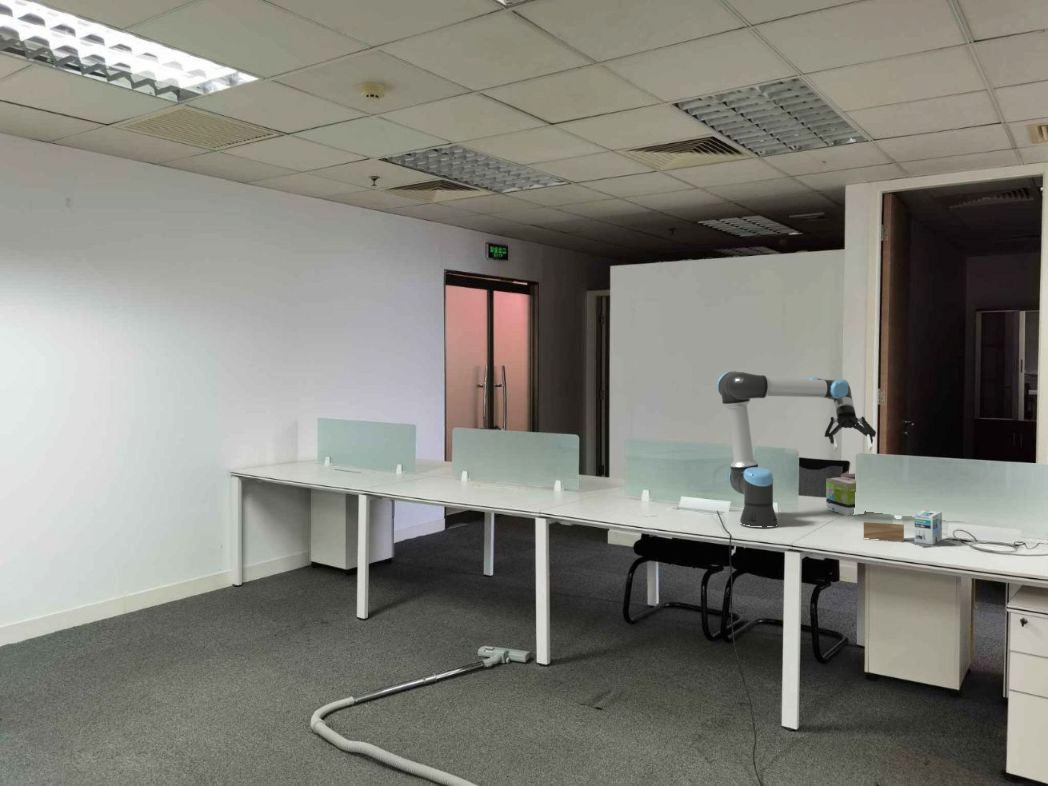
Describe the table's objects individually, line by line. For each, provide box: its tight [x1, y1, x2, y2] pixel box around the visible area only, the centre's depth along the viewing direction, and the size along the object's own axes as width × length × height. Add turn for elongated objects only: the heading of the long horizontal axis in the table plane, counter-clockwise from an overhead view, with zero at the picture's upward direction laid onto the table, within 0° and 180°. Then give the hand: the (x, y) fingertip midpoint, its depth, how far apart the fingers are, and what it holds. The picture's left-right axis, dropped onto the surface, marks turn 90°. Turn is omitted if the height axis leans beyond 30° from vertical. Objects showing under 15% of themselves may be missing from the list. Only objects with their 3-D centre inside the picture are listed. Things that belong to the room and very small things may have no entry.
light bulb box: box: [914, 509, 943, 545], centre depth 301 cm, size 11×7×11 cm, turn 135°
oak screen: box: [863, 521, 905, 543], centre depth 305 cm, size 1×14×6 cm, turn 65°
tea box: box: [825, 476, 856, 517], centre depth 358 cm, size 15×10×15 cm, turn 17°
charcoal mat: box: [904, 536, 956, 548], centre depth 301 cm, size 13×13×1 cm
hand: (853, 448), depth 332 cm, fingers open, 13 cm apart
